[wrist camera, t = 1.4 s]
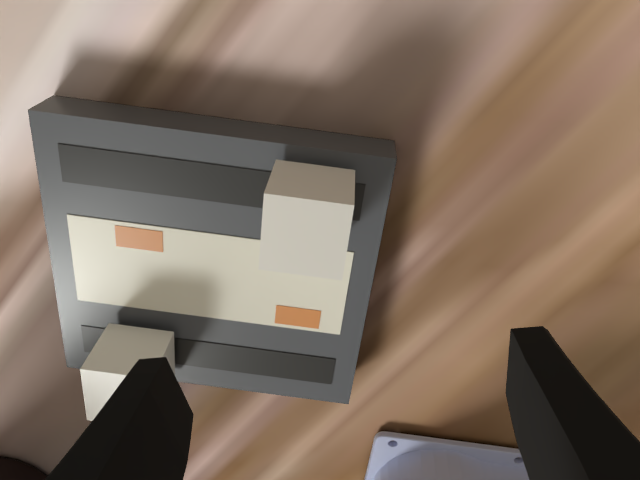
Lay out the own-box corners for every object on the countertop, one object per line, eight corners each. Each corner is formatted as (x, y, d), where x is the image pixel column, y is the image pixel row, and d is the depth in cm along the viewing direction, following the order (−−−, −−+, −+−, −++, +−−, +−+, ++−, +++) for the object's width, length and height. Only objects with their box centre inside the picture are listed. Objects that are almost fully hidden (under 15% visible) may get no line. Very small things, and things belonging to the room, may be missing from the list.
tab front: (355, 169, 21) (354, 205, 18) (344, 238, 22) (342, 280, 20) (275, 159, 21) (263, 193, 18) (270, 229, 22) (258, 269, 20)
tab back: (174, 331, 25) (152, 378, 23) (175, 379, 27) (155, 429, 24) (108, 323, 25) (80, 368, 23) (113, 371, 27) (87, 420, 24)
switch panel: (394, 140, 23) (397, 159, 21) (349, 375, 29) (348, 405, 27) (53, 95, 23) (26, 110, 21) (84, 340, 29) (66, 368, 27)
